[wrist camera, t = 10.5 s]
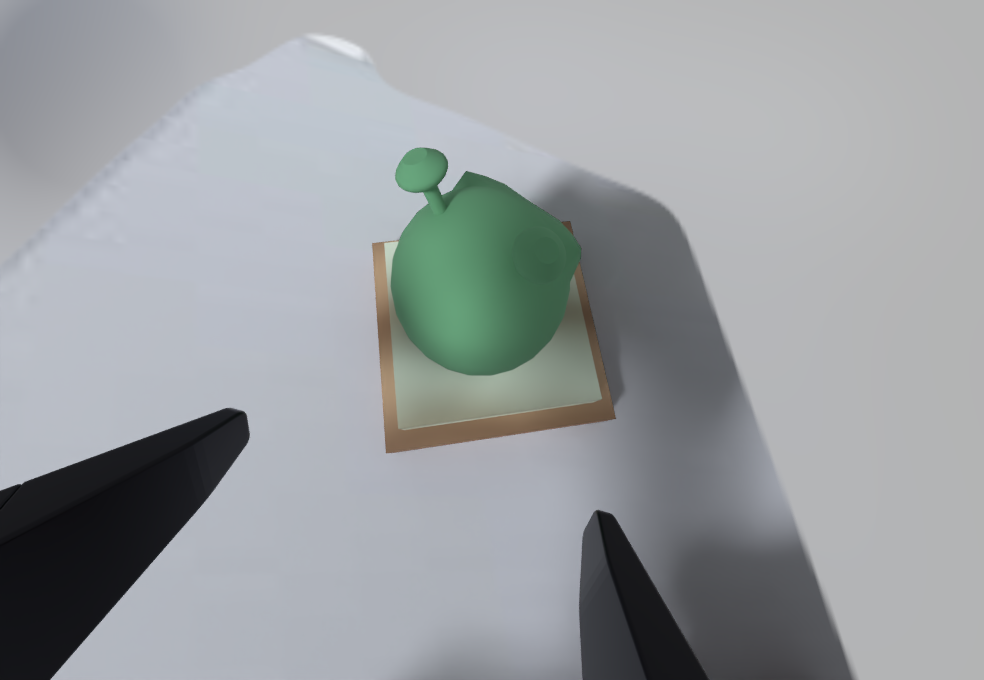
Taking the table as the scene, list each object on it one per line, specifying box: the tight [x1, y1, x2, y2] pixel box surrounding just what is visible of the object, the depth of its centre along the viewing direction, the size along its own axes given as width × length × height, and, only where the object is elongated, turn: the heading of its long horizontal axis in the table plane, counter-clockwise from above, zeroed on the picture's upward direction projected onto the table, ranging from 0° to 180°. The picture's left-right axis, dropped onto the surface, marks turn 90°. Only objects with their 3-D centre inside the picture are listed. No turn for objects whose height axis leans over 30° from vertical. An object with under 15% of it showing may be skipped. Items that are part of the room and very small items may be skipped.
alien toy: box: [391, 148, 581, 376], centre depth 15 cm, size 7×8×10 cm
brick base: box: [372, 221, 616, 453], centre depth 21 cm, size 12×12×4 cm
